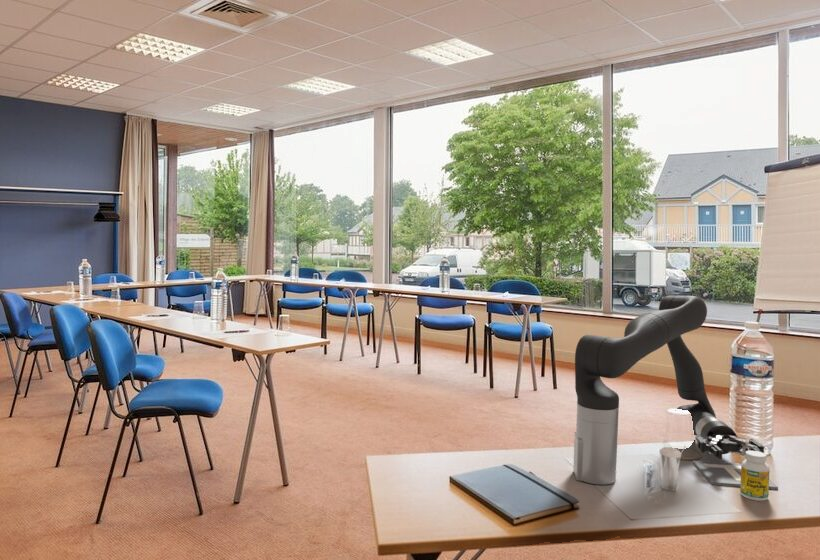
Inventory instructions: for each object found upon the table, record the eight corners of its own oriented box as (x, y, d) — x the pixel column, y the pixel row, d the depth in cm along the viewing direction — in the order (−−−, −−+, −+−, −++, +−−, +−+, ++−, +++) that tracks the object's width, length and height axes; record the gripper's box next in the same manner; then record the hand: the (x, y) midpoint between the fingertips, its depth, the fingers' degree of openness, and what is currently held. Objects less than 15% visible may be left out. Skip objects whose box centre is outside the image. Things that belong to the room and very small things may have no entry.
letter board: (711, 484, 136) (712, 481, 136) (692, 462, 150) (692, 459, 150) (778, 489, 134) (778, 486, 134) (752, 466, 148) (752, 464, 148)
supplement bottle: (764, 493, 132) (766, 450, 131) (771, 503, 127) (773, 459, 126) (737, 489, 134) (739, 448, 133) (742, 499, 128) (745, 456, 128)
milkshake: (686, 493, 131) (688, 449, 130) (660, 491, 132) (662, 447, 131) (680, 485, 135) (683, 442, 135) (655, 483, 137) (657, 440, 136)
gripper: (686, 418, 155) (708, 438, 139) (745, 422, 153) (774, 442, 137) (685, 446, 155) (706, 469, 139) (744, 450, 153) (772, 474, 137)
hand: (740, 456), depth 138 cm, fingers open, 8 cm apart
